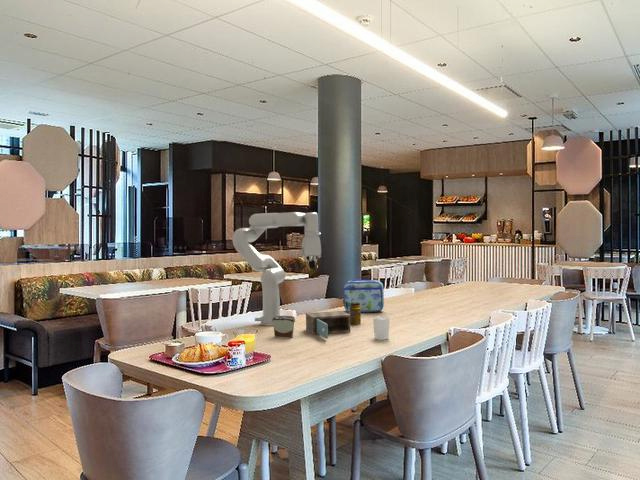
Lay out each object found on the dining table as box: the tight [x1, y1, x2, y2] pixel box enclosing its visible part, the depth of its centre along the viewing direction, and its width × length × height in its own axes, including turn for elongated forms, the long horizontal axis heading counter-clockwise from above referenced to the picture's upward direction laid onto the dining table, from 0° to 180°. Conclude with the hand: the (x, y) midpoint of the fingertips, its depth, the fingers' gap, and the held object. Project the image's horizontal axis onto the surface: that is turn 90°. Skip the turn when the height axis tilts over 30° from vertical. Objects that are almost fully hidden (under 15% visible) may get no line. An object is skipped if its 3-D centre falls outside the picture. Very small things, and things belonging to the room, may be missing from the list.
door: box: [316, 319, 329, 340], centre depth 257 cm, size 16×2×7 cm, turn 18°
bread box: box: [305, 310, 351, 336], centre depth 274 cm, size 20×14×9 cm
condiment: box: [349, 302, 363, 327], centre depth 293 cm, size 7×8×12 cm
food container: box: [272, 315, 296, 339], centre depth 262 cm, size 12×6×10 cm, turn 71°
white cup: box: [372, 316, 390, 341], centre depth 254 cm, size 8×8×10 cm
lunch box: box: [342, 278, 385, 313], centre depth 337 cm, size 26×11×21 cm, turn 77°
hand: (311, 268), depth 287 cm, fingers closed
